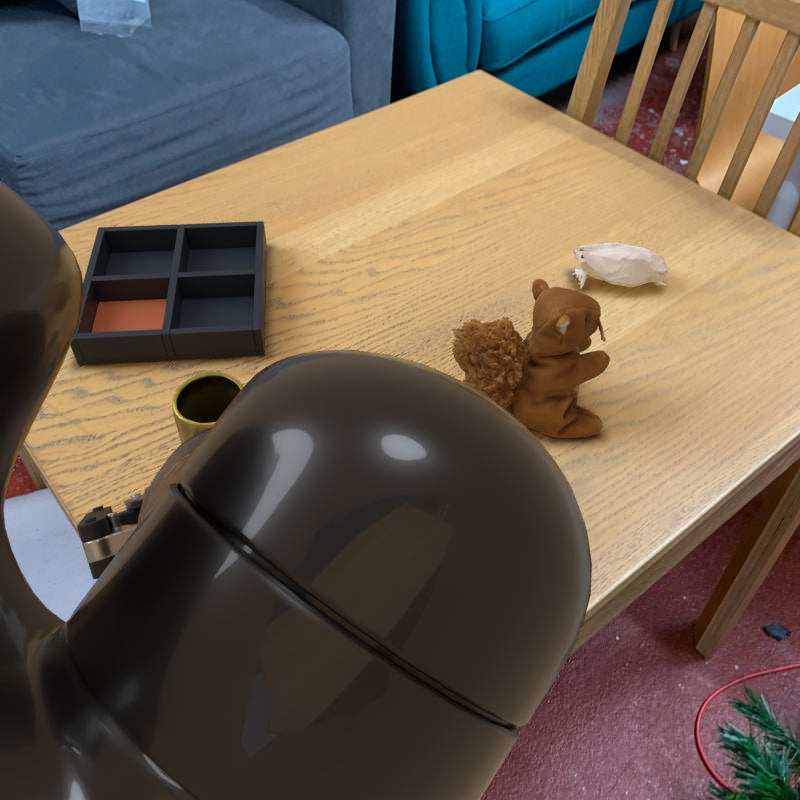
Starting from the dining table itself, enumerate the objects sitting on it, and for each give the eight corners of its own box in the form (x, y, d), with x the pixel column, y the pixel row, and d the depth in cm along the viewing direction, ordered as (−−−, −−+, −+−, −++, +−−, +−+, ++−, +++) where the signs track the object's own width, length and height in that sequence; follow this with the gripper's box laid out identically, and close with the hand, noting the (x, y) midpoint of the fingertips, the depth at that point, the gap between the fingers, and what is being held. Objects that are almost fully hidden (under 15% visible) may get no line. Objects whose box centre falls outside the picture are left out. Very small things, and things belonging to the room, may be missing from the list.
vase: (259, 473, 68) (238, 358, 57) (281, 527, 64) (262, 415, 53) (191, 495, 66) (156, 380, 55) (209, 552, 62) (175, 441, 52)
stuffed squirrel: (608, 437, 72) (645, 333, 62) (461, 452, 70) (475, 348, 60) (576, 362, 78) (604, 258, 68) (440, 375, 76) (450, 269, 67)
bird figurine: (587, 312, 85) (674, 286, 85) (581, 259, 81) (672, 232, 81) (573, 291, 89) (656, 266, 89) (566, 239, 85) (653, 213, 85)
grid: (78, 365, 76) (67, 339, 73) (106, 253, 88) (98, 227, 86) (264, 355, 78) (260, 329, 75) (267, 246, 90) (263, 220, 87)
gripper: (395, 375, 30) (329, 387, 46) (17, 485, 27) (85, 458, 42) (447, 555, 31) (364, 506, 46) (81, 687, 27) (125, 586, 43)
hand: (231, 483), depth 44 cm, fingers open, 8 cm apart
